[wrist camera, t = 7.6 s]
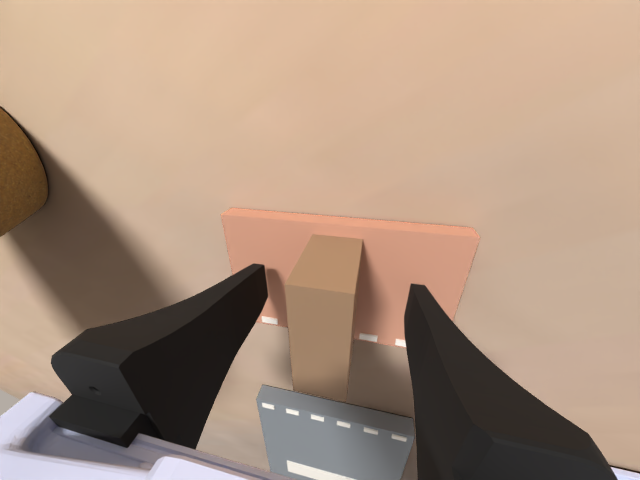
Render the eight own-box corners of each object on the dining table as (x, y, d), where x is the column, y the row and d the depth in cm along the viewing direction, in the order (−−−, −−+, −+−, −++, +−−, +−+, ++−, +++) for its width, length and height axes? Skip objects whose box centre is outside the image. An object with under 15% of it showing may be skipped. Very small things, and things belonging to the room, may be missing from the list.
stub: (473, 227, 11) (529, 301, 7) (438, 339, 15) (461, 436, 10) (230, 207, 14) (160, 253, 9) (248, 308, 17) (202, 377, 13)
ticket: (413, 418, 19) (415, 438, 17) (389, 496, 25) (389, 514, 24) (262, 384, 21) (255, 400, 20) (276, 463, 27) (271, 479, 26)
